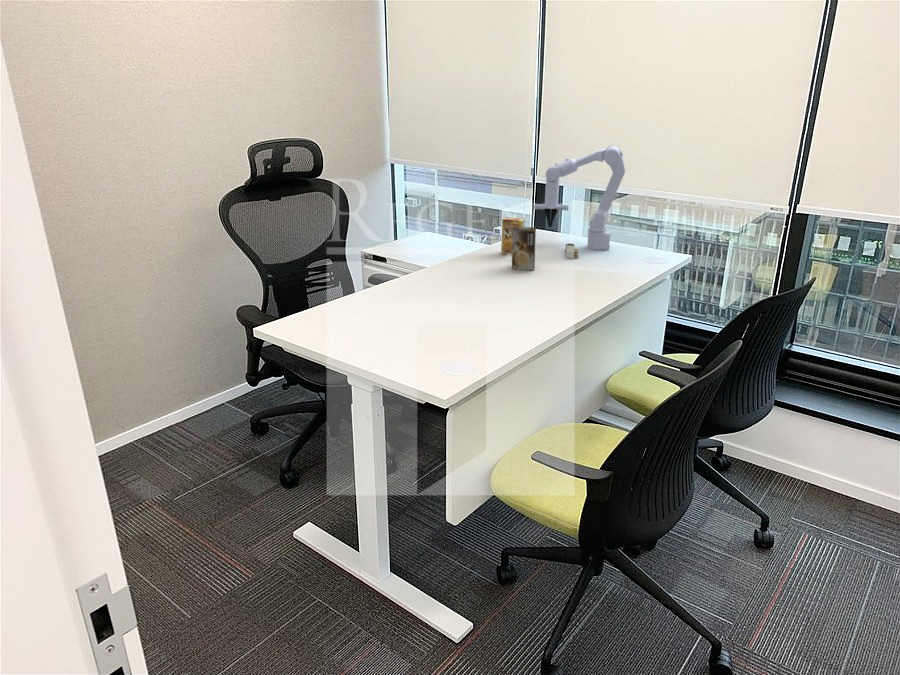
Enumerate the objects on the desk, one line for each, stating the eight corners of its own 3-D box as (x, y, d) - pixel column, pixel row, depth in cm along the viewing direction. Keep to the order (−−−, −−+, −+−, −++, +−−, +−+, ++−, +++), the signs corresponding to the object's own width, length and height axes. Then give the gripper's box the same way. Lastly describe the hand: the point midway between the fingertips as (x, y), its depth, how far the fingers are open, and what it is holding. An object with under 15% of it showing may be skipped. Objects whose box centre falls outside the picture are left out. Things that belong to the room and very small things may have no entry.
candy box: (500, 254, 302) (501, 219, 296) (503, 251, 306) (504, 216, 300) (521, 256, 299) (522, 220, 293) (523, 253, 303) (525, 218, 297)
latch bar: (565, 249, 304) (565, 243, 303) (573, 250, 303) (574, 243, 302) (565, 258, 292) (566, 252, 291) (574, 258, 292) (574, 252, 291)
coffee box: (535, 266, 288) (537, 227, 281) (534, 270, 282) (535, 231, 275) (512, 264, 289) (513, 226, 283) (511, 269, 283) (512, 230, 277)
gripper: (534, 196, 300) (532, 227, 306) (569, 197, 298) (566, 229, 303) (535, 192, 307) (533, 223, 312) (569, 193, 304) (567, 225, 310)
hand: (550, 226), depth 308 cm, fingers closed
